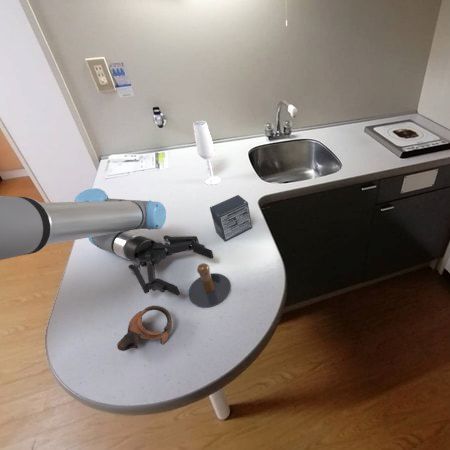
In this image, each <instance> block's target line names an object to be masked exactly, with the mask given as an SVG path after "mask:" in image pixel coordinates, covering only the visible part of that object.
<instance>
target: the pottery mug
mask: <svg viewBox="0 0 450 450" xmlns="http://www.w3.org/2000/svg"><path fill="white" fill-rule="evenodd" d="M149 311H158V312H161V313H162V314H164V316H165V317H166V325H165V326H164V328H163V331H161V330H158V331H152V330H149V329H146V328H145V327H144V326H143V323H142V322H143V321H142V320H143V316H144V315H145V314H146V313H147V312H149ZM172 329H173V321H172V316H171V312H169V310H168V309H166V308H165V307H164V306H160V305H150V306H147V307H145V308H144V309H142V310H139V311H138V312H136V313H135V314H134V315H133V316H132V318H131V319H130V321H129V323H128V325H127V332H126V334H124V335H123V337H122V338H121V339H120V340H119V341H118V342H117V344H116V347H117V349H118V351H122V352H126V351H128V350H131V349H138V348H139V346H138V344H139V342H140V338H141V339H144V340H150V341H151V340H155V341H156V340H160V345H163V344H165V343H167V341H168V339H169V337H170V336H171V333H172Z"/></svg>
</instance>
